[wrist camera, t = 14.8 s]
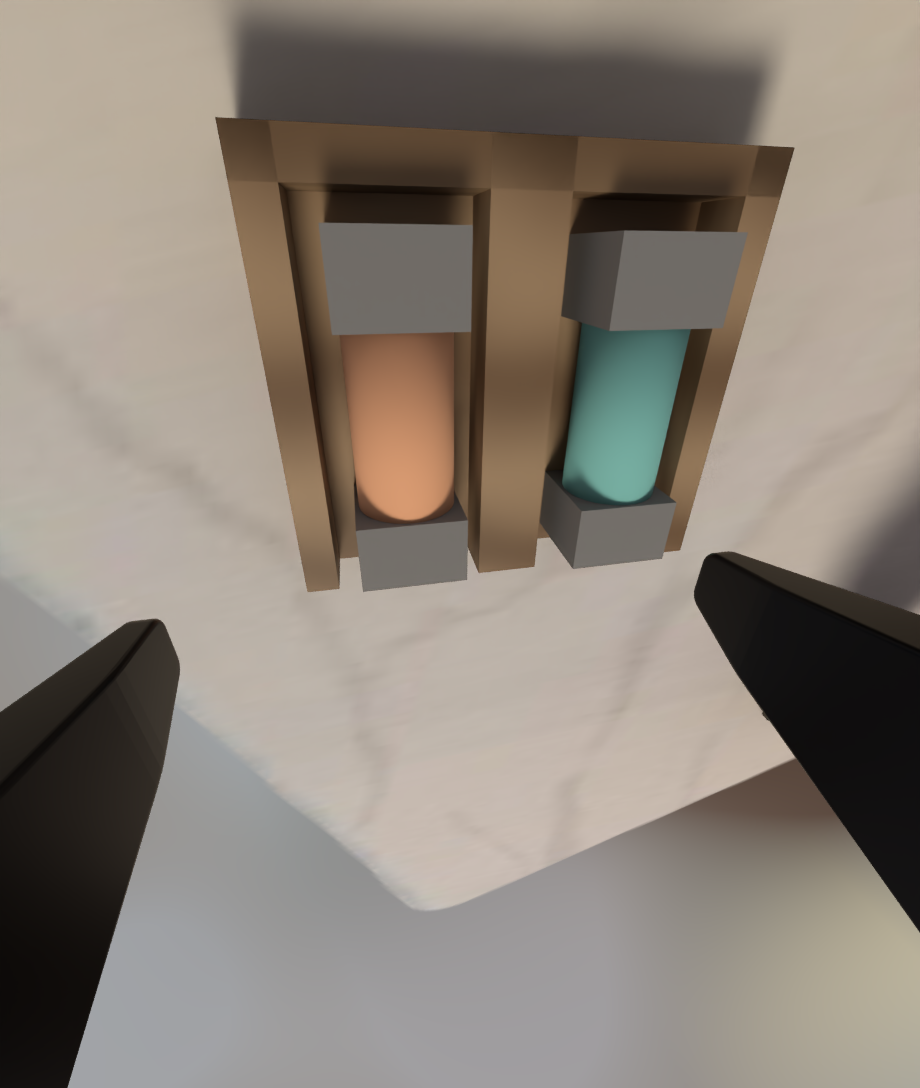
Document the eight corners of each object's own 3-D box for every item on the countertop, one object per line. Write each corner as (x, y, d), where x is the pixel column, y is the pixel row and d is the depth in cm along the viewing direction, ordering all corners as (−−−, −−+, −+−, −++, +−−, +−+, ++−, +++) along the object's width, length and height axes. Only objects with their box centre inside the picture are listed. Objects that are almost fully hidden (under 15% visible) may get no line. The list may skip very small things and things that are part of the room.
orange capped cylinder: (448, 530, 21) (467, 579, 18) (360, 538, 20) (363, 591, 17) (446, 230, 15) (473, 225, 12) (323, 228, 15) (318, 222, 12)
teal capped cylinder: (617, 515, 23) (661, 558, 19) (539, 522, 22) (572, 569, 19) (671, 235, 17) (748, 232, 14) (569, 234, 16) (624, 230, 13)
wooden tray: (646, 520, 24) (679, 550, 22) (311, 554, 21) (307, 592, 19) (731, 162, 17) (794, 147, 14) (237, 140, 14) (215, 117, 11)
